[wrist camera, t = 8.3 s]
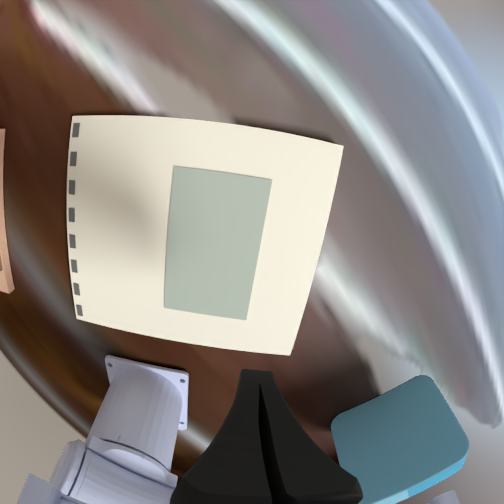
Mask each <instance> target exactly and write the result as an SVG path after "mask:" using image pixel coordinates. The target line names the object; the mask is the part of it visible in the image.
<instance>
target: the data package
mask: <svg viewBox="0 0 504 504" xmlns="http://www.w3.org/2000/svg"><path fill="white" fill-rule="evenodd" d="M331 431H332V435H333V439H334V443H335V447H336V451H337V455H338V459H339V463H340V467H342V468H343V469H344V470H346V471H347V472H349V473H350V474H352V475H353V476H355V477H356V478H357V479H358V481H359V483H360V486H361V488H362V492H363V499H362V500H361V501H360V502H359V503H358V504H395V503H397V502H399V501H402V500H404V499H406V498H409V497H411V496H413V495H415V494H417V493H419V492H421V491H423V490H425V489H427V488H429V487H431V486H433V485H435V484H437V483H438V482H440V481H442V480H444V479H446V478H448V477H449V476H451V475H453V474H454V473H456V472H457V471H459V470H460V468H461V467H462V466H463V464H464V462H465V459H466V456H467V454H468V450H469V446H470V445H469V440H468V438H467V436H466V434H465V432H464V431H463V429H462V427H461V425H460V424H459V422H458V420H457V418H456V417H455V415H454V413H453V412H452V410H451V408H450V407H449V405H448V404H447V402H446V400H445V399H444V397H443V395H442V394H441V392H440V391H439V389H438V387H437V386H436V384H435V383H434V381H433V380H432V379H431V378H430V377H428V376H425V375H420V376H416V377H414V378H412V379H410V380H409V381H407V382H405V383H403V384H401V385H399V386H398V387H396V388H394V389H392V390H390V391H388V392H386V393H384V394H382V395H380V396H378V397H376V398H374V399H372V400H369V401H367V402H365V403H363V404H361V405H359V406H356V407H354V408H352V409H349V410H347V411H345V412H342V413H340V414H339V415H337V416H336V417H335V418H334V420H333V421H332V424H331Z"/></svg>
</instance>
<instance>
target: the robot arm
mask: <svg viewBox="0 0 504 504" xmlns="http://www.w3.org/2000/svg"><path fill="white" fill-rule="evenodd" d="M105 364H106V369H107V374H108V378H109V383H110V387H109V389H108V391H107V393H106V396H105V398H104V400H103V402H102V404H101V407H100V409H99V411H98V414H97V416H96V418H95V421H94V423H93V425H92V428H91V430H90V432H89V435H88V437H87V440H86V442H85V443H84V442H82V441H81V440H76V441H71V442H69V443H68V444H67V445H66V447H65V449H64V450H63V452H62V454H61V455H60V458H59V459H58V461H57V464H56V466H55V468H54V471H53V473H52V476H51V478H50V481H49V482H46V481H44V480H43V479H41V478H39V477H37V476H35V475H33V474H29V475H28V477H27V479H26V482H25V484H24V487H23V489H22V491H21V494H20V497H19V499H18V502H17V504H358V503H359V502H360V501H361V500H362V499H363V492H362V488H361V486H360V483H359V481H358V479H357V478H356V477H355V476H353V475H352V474H350V473H349V472H347V471H346V470H344V469H343V468H342V467H340V466H339V465H338V464H337V463H336V462H334V461H333V460H332V459H331V458H330V457H329V456H328V455H327V454H326V453H324V452H323V451H322V450H321V449H320V448H319V447H318V446H317V445H316V443H315V442H314V441H313V440H312V439H311V438H310V437H309V435H308V434H307V433H306V432H305V430H304V429H303V428H302V426H301V425H300V424H299V422H298V421H297V419H296V418H295V416H294V415H293V413H292V411H291V410H290V408H289V406H288V405H287V403H286V401H285V399H284V397H283V395H282V393H281V391H280V389H279V387H278V385H277V383H276V381H275V378H274V376H273V373H272V372H269V371H258V370H248V369H243V370H241V373H240V378H239V383H238V388H237V392H236V397H235V400H234V402H233V405H232V407H231V409H230V411H229V413H228V415H227V417H226V419H225V421H224V423H223V425H222V427H221V428H220V430H219V432H218V433H217V435H216V436H215V438H214V439H213V441H212V442H211V444H210V445H209V446H208V448H207V449H206V450H205V452H204V453H203V454H202V455H201V457H200V458H199V459H198V460H197V461H196V463H195V464H194V465H193V466H192V467H191V468H190V469H189V470H188V471H187V472H186V473H185V474H184V475H183V477H182V478H181V480H180V481H179V483H178V485H177V486H176V483H177V476H176V475H174V474H172V473H170V469H171V464H172V458H173V452H174V447H175V441H176V436H177V431H178V429H179V430H186V429H187V407H188V379H189V375H188V373H187V372H185V371H181V370H175V369H170V368H164V367H159V366H154V365H150V364H145V363H140V362H136V361H132V360H127V359H123V358H119V357H115V356H111V355H107V356H106V357H105ZM182 379H184V380H182ZM427 504H460V502H459V500H458V497H457V495H456V493H455V491H454V490H450V491H448V492H446V493H443V494H441V495H439V496H437V497H435V498H433V499H432V500H430V501H429V502H428V503H427Z"/></svg>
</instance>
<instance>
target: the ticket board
mask: <svg viewBox="0 0 504 504" xmlns="http://www.w3.org/2000/svg"><path fill="white" fill-rule="evenodd" d="M343 147H344V146H341V145H337V144H333V143H329V142H325V141H321V140H317V139H312V138H308V137H303V136H298V135H294V134H289V133H284V132H278V131H273V130H267V129H262V128H256V127H249V126H243V125H236V124H229V123H221V122H213V121H204V120H194V119H183V118H171V117H155V116H129V115H89V116H72V124H71V132H70V142H69V154H68V170H67V236H68V253H69V265H70V275H71V284H72V291H73V299H74V305H75V312H76V318H77V319H80V320H83V321H87V322H91V323H95V324H99V325H103V326H107V327H111V328H115V329H120V330H124V331H128V332H133V333H138V334H142V335H147V336H152V337H157V338H163V339H168V340H173V341H179V342H185V343H191V344H197V345H204V346H210V347H217V348H225V349H232V350H240V351H249V352H258V353H268V354H279V355H290V354H291V351H292V348H293V345H294V342H295V339H296V335H297V332H298V329H299V326H300V322H301V319H302V315H303V312H304V309H305V305H306V302H307V298H308V295H309V291H310V288H311V284H312V280H313V277H314V273H315V269H316V266H317V262H318V258H319V254H320V250H321V246H322V242H323V238H324V234H325V230H326V226H327V222H328V217H329V213H330V209H331V204H332V200H333V196H334V191H335V186H336V182H337V177H338V172H339V167H340V162H341V157H342V152H343Z"/></svg>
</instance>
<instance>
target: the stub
mask: <svg viewBox="0 0 504 504" xmlns="http://www.w3.org/2000/svg"><path fill="white" fill-rule="evenodd" d="M4 140H5V129H0V291H2V292H5V293H8V294H9V293H11V292H12V291H13V290H14V289H15V288H14V284H13V278H12V273H11V267H10V261H9V254H8V247H7V239H6V230H5V218H4V201H3V157H4Z"/></svg>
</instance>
